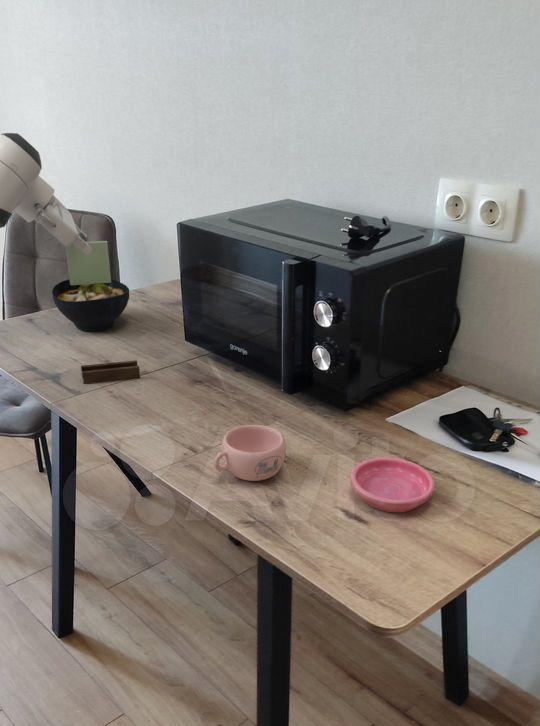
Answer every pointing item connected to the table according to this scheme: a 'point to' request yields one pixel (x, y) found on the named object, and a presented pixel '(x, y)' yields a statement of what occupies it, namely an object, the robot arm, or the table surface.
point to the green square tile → (89, 264)
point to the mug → (252, 452)
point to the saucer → (392, 484)
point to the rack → (110, 372)
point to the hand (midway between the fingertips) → (87, 246)
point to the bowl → (91, 303)
